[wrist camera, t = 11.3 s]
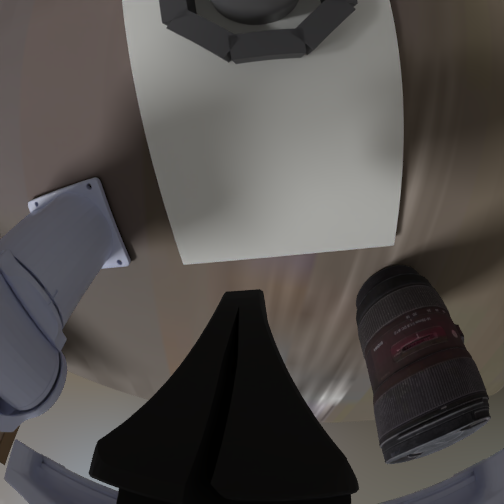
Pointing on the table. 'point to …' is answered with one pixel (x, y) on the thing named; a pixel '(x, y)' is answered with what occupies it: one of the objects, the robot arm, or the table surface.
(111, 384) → the table surface
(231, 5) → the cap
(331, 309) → the table surface
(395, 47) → the board
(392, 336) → the camera lens
